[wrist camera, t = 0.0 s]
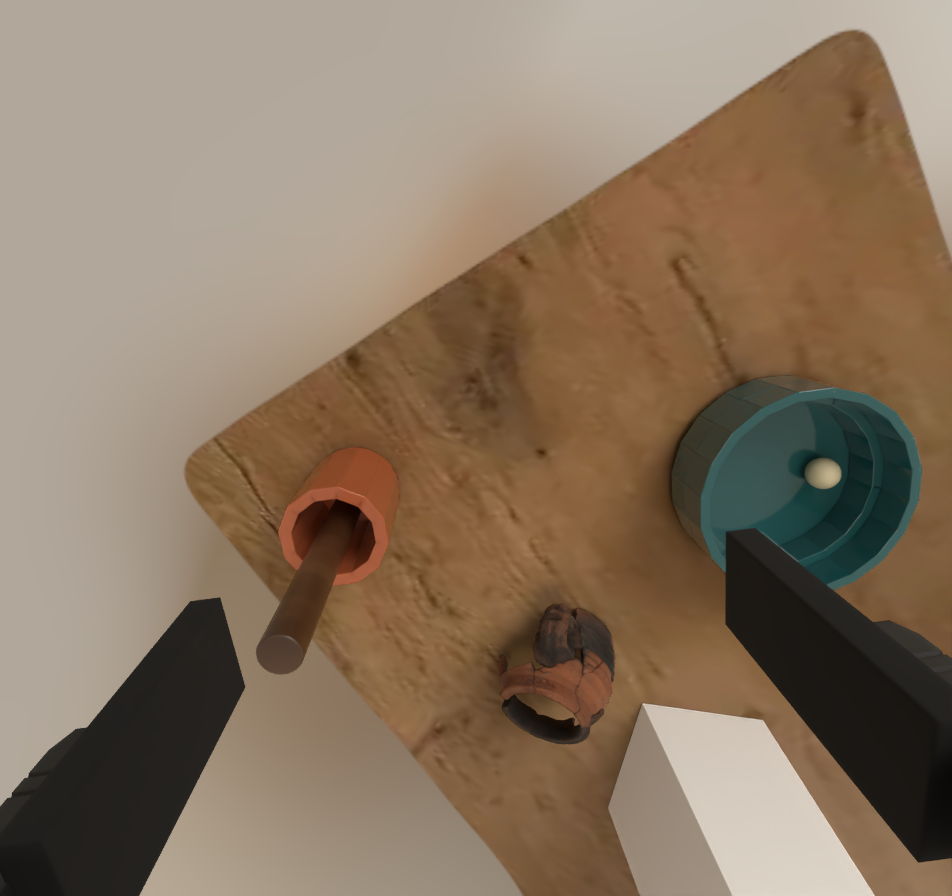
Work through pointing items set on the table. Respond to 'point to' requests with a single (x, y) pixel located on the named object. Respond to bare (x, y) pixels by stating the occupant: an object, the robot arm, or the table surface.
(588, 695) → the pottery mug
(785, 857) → the milk
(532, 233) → the table surface
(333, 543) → the stirring stick
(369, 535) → the crock
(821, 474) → the bead
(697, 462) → the bowl
